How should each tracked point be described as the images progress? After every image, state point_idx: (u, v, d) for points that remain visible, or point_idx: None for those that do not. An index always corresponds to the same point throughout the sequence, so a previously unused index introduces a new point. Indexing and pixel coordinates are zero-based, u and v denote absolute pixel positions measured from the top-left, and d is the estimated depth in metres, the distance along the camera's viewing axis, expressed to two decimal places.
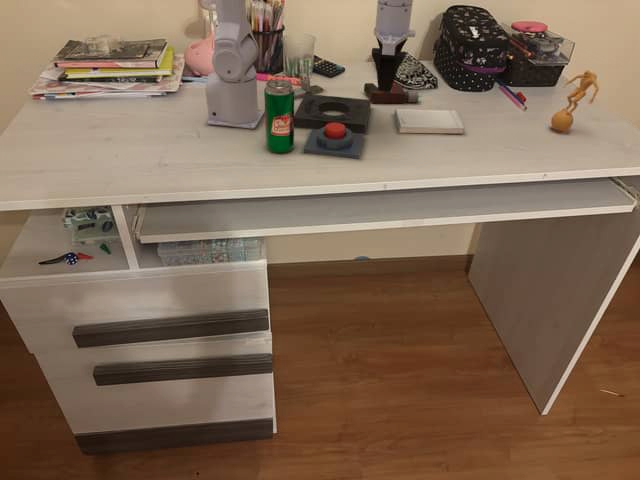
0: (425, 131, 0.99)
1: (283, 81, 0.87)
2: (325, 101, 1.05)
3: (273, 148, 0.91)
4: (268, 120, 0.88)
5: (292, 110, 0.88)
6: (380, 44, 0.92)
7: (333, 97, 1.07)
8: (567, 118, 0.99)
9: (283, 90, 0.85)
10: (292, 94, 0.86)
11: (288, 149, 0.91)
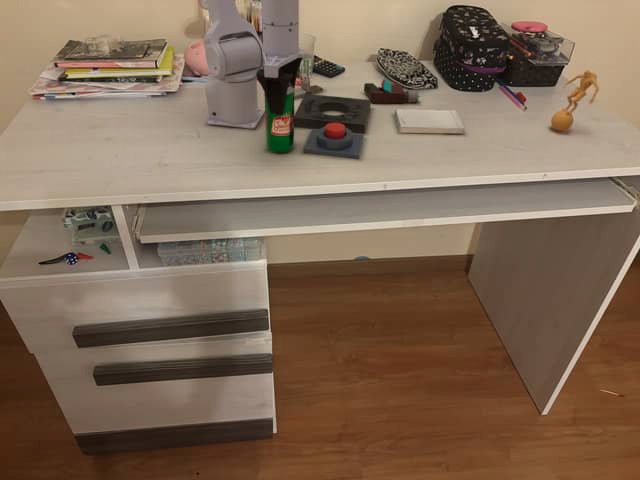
0: (425, 131, 0.99)
1: None
2: (325, 101, 1.05)
3: (273, 148, 0.91)
4: (268, 120, 0.88)
5: (292, 110, 0.88)
6: None
7: (333, 97, 1.07)
8: (567, 118, 0.99)
9: None
10: (292, 94, 0.86)
11: (288, 149, 0.91)
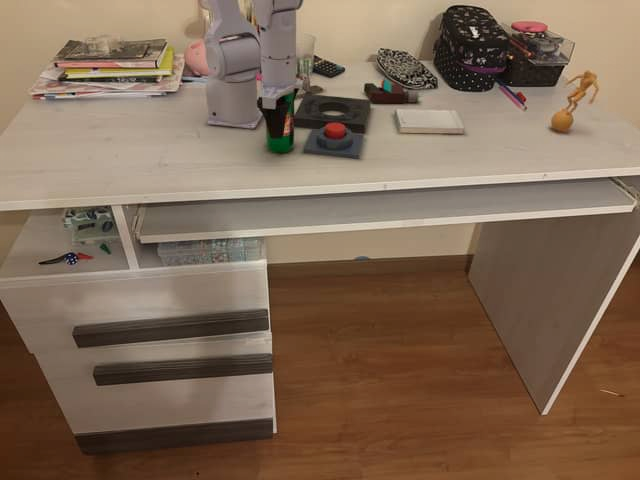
0: (425, 131, 0.99)
1: None
2: (325, 101, 1.05)
3: (273, 148, 0.91)
4: None
5: (292, 110, 0.88)
6: None
7: (333, 97, 1.07)
8: (567, 118, 0.99)
9: None
10: (292, 94, 0.86)
11: (288, 149, 0.91)
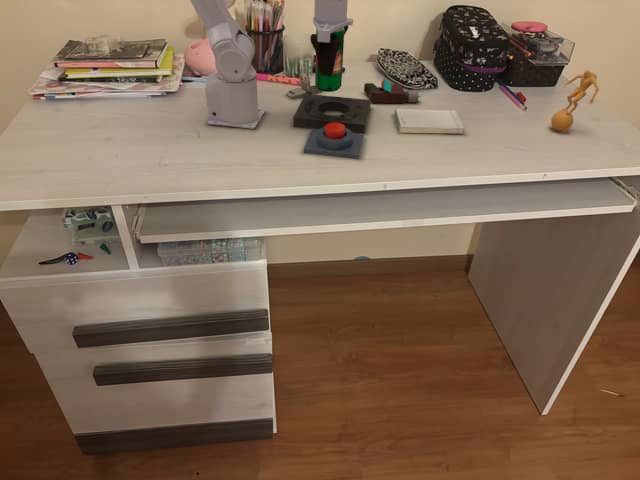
0: (425, 131, 0.99)
1: None
2: (325, 101, 1.05)
3: (323, 86, 0.96)
4: None
5: (342, 48, 0.93)
6: None
7: (333, 97, 1.07)
8: (567, 118, 0.99)
9: None
10: (343, 32, 0.91)
11: (336, 87, 0.96)
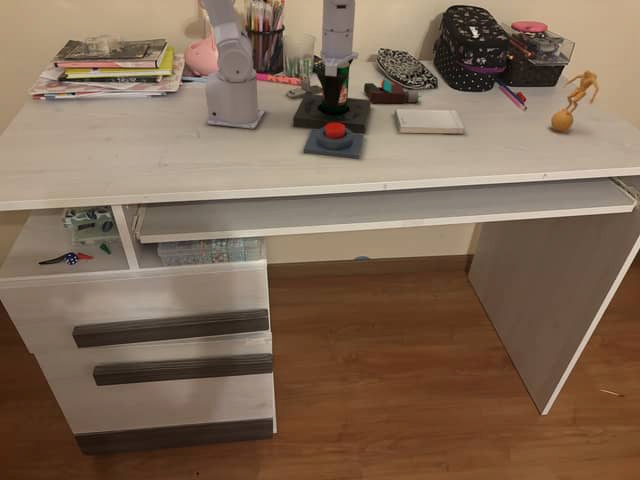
0: (425, 131, 0.99)
1: None
2: None
3: None
4: None
5: (347, 82, 0.98)
6: None
7: None
8: (567, 118, 0.99)
9: None
10: (348, 67, 0.97)
11: None
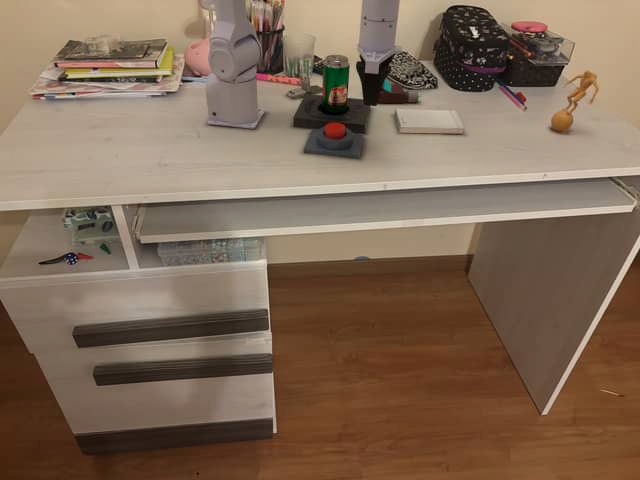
0: (425, 131, 0.99)
1: (340, 56, 0.98)
2: None
3: None
4: (325, 91, 0.99)
5: (347, 82, 0.98)
6: None
7: None
8: (567, 118, 0.99)
9: (341, 63, 0.95)
10: (348, 67, 0.97)
11: None
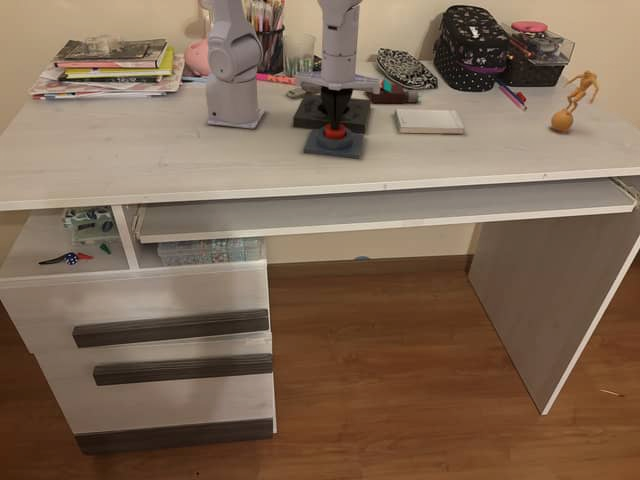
0: (425, 131, 0.99)
1: None
2: None
3: None
4: None
5: None
6: None
7: None
8: (567, 118, 0.99)
9: None
10: None
11: None
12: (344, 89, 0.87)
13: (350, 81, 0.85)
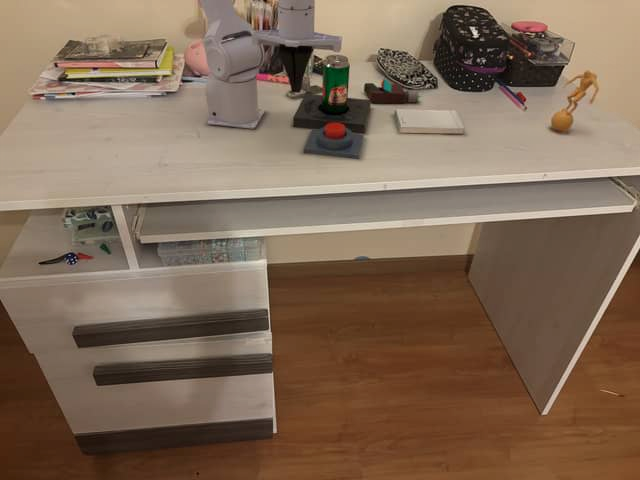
0: (425, 131, 0.99)
1: (340, 56, 0.98)
2: None
3: None
4: (325, 91, 0.99)
5: (347, 82, 0.98)
6: None
7: None
8: (567, 118, 0.99)
9: (341, 63, 0.95)
10: (348, 67, 0.97)
11: None
12: (303, 47, 0.83)
13: (308, 38, 0.81)
